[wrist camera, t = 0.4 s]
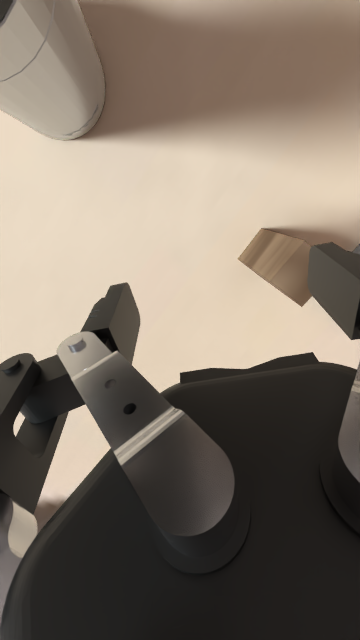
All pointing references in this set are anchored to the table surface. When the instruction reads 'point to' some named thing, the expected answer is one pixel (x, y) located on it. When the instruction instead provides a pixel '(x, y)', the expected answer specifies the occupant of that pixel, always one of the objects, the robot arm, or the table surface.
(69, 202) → the table surface
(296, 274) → the brown block
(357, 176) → the table surface
